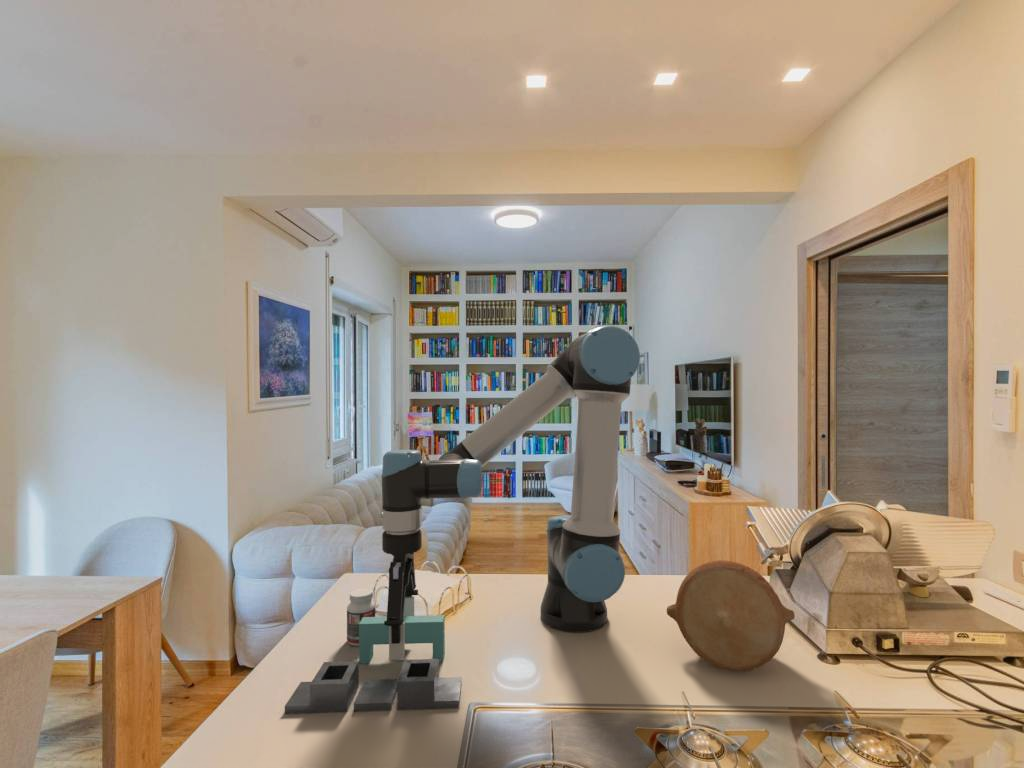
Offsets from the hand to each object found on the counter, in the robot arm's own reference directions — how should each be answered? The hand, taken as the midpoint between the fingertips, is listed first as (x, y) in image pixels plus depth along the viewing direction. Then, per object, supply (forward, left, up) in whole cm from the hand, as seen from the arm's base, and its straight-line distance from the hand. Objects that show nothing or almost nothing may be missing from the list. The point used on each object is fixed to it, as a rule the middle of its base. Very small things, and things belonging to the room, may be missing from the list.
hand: (402, 643), depth 100 cm
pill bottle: (+10, -8, -3) cm, 13 cm away
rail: (+2, +13, -3) cm, 13 cm away
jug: (-66, -1, -3) cm, 66 cm away
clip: (0, 0, -3) cm, 3 cm away
